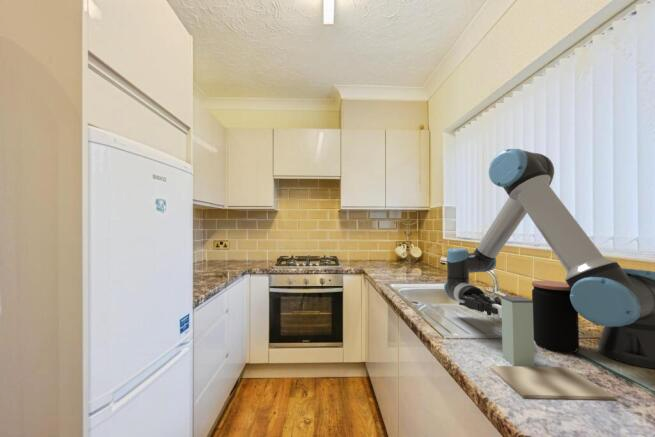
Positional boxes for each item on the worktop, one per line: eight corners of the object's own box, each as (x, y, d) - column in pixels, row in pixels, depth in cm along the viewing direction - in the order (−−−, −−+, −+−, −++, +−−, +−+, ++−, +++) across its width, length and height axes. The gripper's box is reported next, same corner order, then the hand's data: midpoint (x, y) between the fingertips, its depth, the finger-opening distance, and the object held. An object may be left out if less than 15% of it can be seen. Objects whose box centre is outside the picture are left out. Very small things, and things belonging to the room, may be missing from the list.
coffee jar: (588, 355, 81) (586, 287, 82) (544, 352, 83) (542, 286, 84) (565, 341, 92) (563, 281, 92) (526, 338, 94) (525, 280, 94)
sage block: (522, 358, 79) (520, 296, 80) (534, 366, 74) (532, 300, 75) (502, 357, 80) (501, 296, 80) (513, 366, 75) (512, 300, 75)
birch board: (566, 369, 73) (566, 367, 73) (615, 399, 60) (615, 396, 60) (489, 368, 73) (489, 365, 73) (522, 397, 60) (522, 394, 60)
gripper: (488, 307, 104) (532, 329, 80) (450, 306, 104) (482, 328, 81) (488, 285, 104) (531, 300, 81) (449, 284, 105) (482, 300, 81)
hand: (507, 314), depth 81 cm, fingers closed
